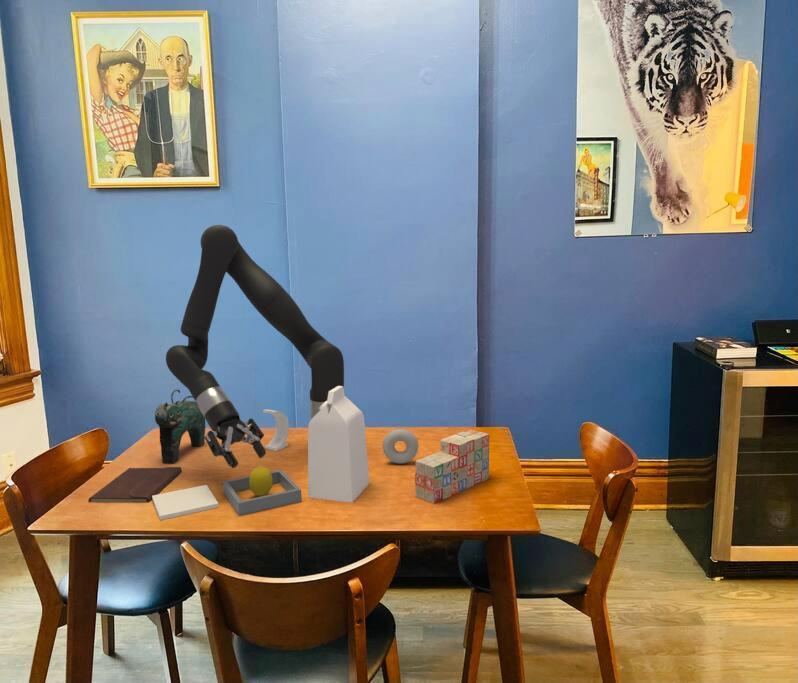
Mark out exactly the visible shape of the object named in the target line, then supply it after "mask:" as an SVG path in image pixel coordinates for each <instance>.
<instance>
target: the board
mask: <svg viewBox="0 0 798 683" xmlns="http://www.w3.org/2000/svg"><path fill="white" fill-rule="evenodd" d="M151 501H152V502H153V506H154V507H155V510H156V513H157V515H158V518H159V521H163V520H167V519H172V518H177V517H181V516H182V517H183V516H186V515H190V514H195V513H200V512H204V511H205V512H206V511H209V510H214V509H219V507H220V506H219V502H218V501H217V499H216V497H215V496H214V494H213V493H212V491H211V489H210V488H209V486H208V484H204V485H198V486H193V487H189V488H184V489H179V490H174V491H169V492H163V493H158V494H157V495H153V496H152V500H151Z"/></svg>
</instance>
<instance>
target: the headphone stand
mask: <svg viewBox="0 0 798 683" xmlns="http://www.w3.org/2000/svg"><path fill="white" fill-rule="evenodd" d="M262 413H264V414H269V415H272V416H273V418H274V422H275V430H274V435H273V437H272V439H271V440H270V441H269V442H268V443H267V444H266V445H265V446H264V449H265V450H270V451H275V452H278V451H280V450H282V449H285V448H286V447H288V445H289V444H288V443H287V439H288V437H289V433H290V423H289V419H288V417H287V415H286V414H285V413H284V412H282V411H278V410H272V409H263V411H262Z"/></svg>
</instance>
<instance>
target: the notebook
mask: <svg viewBox="0 0 798 683" xmlns="http://www.w3.org/2000/svg"><path fill="white" fill-rule="evenodd" d="M181 473H183V469H182V467H181V466H165V467H129V468H128V469H126V470H124V472H122V473H120V474H119V475H118V476H117V477H115V478H114V479H113V480H111V481H110V482H108V484H106V485H105V486H103V487H102V488H101V489H99V490H98V491H97V492H95V493H94V494H92V495H91V496H90V497H89V498H88V503H150V502H151V501H153V500H152V496H153V495H158V494H161V492H162V491H163V490H164V489H165V488H166V487H167V486H169V484H171V483H172V482H173V481H174V480H175V479H176V478H178V476H179V475H180V474H181Z"/></svg>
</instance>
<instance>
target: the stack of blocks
mask: <svg viewBox="0 0 798 683" xmlns="http://www.w3.org/2000/svg"><path fill="white" fill-rule="evenodd" d="M439 443H440V444H439V447H440V448H439V452H438V451H437V452H436V453H433V454H430V455H427V456H425V457H422V458H420V459H417V460H415V473H414V474H415V476H414V482H415V485H414V487H415V490H414V491H415V497H417V498H419V499H422V500H424V501H427V502H430V503H432V504H436V503H438V502H440V501H442V500H445V499H447V498H450V497H451V496H454V495H456V494H459V493H460V492H462V491H465V490H467V489H469V488H471V487H473V486H475V485H479V484H481V483H482V482H485V481H486V480H489V479H490V433H486V432H483V431H478V430H474V429H468V430H464V431H459V432H458V433H455V434H452V435H450V436H448V437H444V438H441V439H440V440H439Z"/></svg>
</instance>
